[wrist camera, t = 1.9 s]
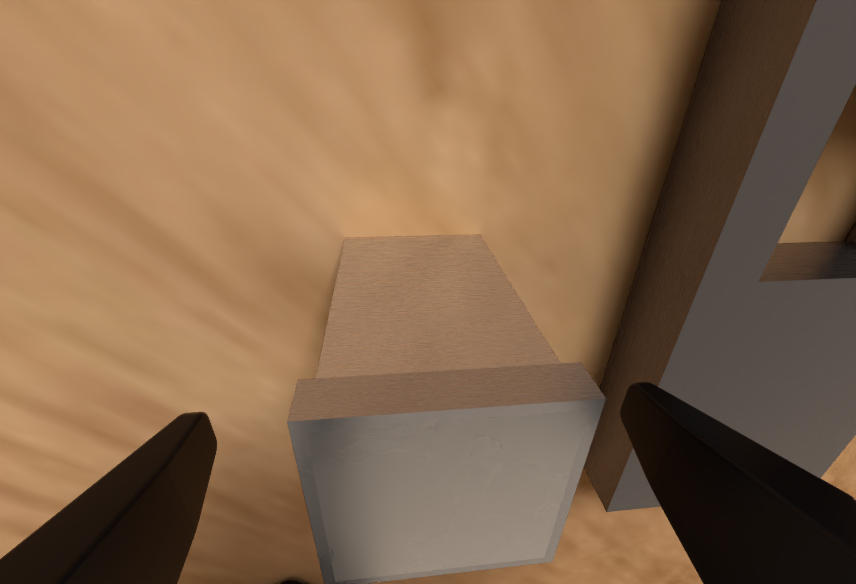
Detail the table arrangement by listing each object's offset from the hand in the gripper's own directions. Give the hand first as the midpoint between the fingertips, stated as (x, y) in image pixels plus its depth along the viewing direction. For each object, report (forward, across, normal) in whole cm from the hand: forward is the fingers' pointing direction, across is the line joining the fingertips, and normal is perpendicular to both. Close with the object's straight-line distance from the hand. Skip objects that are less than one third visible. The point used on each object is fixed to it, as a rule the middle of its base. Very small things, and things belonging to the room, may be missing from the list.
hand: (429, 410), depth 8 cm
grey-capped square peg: (+5, 0, 0) cm, 5 cm away
